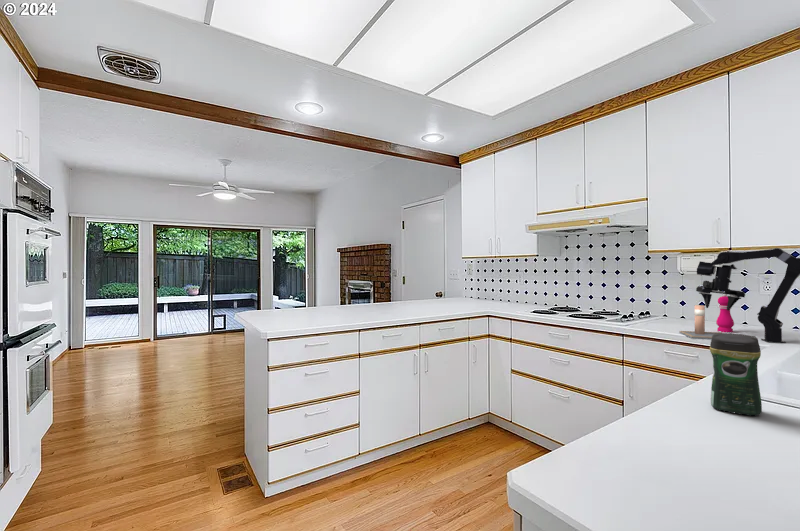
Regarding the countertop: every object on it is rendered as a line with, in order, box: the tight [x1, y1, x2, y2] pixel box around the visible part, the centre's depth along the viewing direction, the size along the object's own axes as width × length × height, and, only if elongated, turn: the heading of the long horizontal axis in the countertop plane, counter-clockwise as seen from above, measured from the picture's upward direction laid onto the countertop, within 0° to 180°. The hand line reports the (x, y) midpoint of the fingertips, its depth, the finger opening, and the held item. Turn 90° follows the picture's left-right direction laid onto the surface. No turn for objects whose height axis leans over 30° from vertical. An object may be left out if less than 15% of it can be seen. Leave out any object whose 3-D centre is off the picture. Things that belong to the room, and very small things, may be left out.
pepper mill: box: [716, 294, 735, 333], centre depth 209 cm, size 7×7×20 cm
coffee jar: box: [709, 332, 763, 416], centre depth 98 cm, size 10×8×19 cm
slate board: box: [678, 330, 722, 340], centre depth 195 cm, size 16×18×1 cm
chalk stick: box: [694, 304, 706, 334], centre depth 199 cm, size 4×4×14 cm
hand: (717, 309), depth 197 cm, fingers open, 9 cm apart
